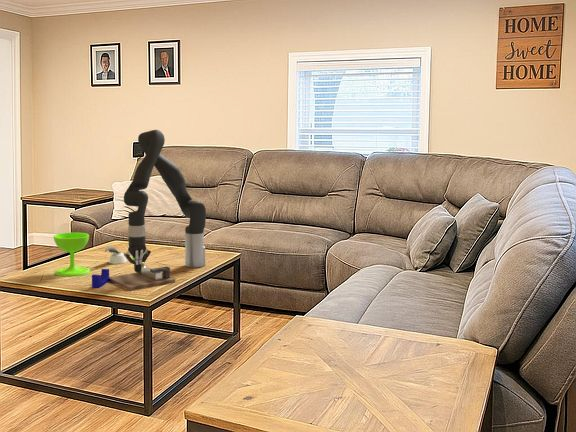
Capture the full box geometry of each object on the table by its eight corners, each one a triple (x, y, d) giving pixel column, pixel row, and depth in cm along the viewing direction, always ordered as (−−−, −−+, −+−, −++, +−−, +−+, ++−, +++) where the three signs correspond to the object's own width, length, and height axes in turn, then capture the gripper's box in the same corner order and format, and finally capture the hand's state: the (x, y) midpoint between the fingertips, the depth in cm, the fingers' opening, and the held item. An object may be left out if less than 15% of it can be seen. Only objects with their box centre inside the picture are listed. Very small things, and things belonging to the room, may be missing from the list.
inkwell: (129, 260, 327) (129, 241, 325) (115, 268, 309) (114, 248, 308) (113, 259, 328) (112, 240, 327) (97, 267, 311) (97, 247, 309)
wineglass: (48, 272, 299) (47, 235, 296) (78, 266, 311) (77, 231, 308) (66, 278, 289) (64, 240, 286) (96, 272, 301) (95, 235, 298)
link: (136, 272, 296) (136, 262, 295) (144, 271, 299) (144, 261, 298) (154, 280, 283) (154, 270, 282) (162, 278, 286) (162, 268, 285)
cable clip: (100, 281, 286) (99, 268, 285) (109, 281, 286) (109, 269, 285) (88, 288, 274) (88, 275, 274) (98, 288, 274) (98, 275, 273)
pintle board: (152, 273, 302) (152, 260, 301) (175, 282, 287) (175, 268, 286) (107, 280, 287) (107, 266, 286) (129, 290, 272) (129, 276, 271)
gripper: (146, 231, 288) (147, 268, 291) (119, 235, 280) (120, 272, 283) (154, 234, 283) (155, 271, 286) (127, 237, 274) (128, 276, 277)
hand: (137, 272), depth 284 cm, fingers closed
